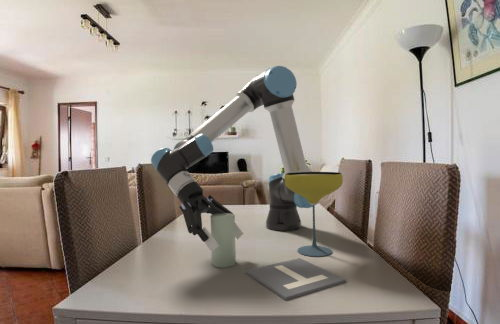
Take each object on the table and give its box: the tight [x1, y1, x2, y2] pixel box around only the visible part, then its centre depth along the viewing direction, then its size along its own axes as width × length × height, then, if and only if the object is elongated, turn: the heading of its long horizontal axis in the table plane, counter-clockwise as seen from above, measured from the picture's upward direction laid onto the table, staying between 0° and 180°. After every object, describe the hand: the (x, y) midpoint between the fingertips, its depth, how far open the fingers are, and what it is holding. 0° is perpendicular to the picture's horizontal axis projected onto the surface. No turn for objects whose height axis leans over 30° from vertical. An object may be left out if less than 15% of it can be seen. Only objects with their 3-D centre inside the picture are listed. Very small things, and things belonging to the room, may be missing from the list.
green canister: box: [210, 213, 237, 269], centre depth 89 cm, size 7×7×14 cm
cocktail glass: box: [285, 171, 344, 258], centre depth 97 cm, size 18×18×25 cm
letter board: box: [245, 257, 347, 301], centre depth 78 cm, size 18×18×1 cm
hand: (229, 242), depth 88 cm, fingers open, 13 cm apart
